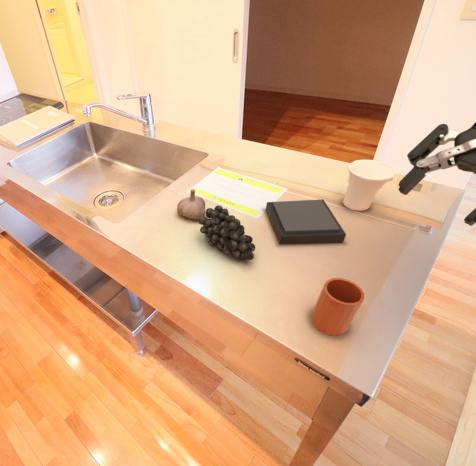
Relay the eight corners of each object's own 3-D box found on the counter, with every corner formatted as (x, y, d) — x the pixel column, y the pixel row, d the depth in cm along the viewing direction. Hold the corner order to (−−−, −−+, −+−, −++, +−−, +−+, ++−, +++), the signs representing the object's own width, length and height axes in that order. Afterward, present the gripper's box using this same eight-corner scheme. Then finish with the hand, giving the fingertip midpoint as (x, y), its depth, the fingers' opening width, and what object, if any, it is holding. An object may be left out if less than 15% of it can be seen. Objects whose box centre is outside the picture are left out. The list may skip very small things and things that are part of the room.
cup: (362, 220, 73) (379, 183, 67) (327, 201, 80) (339, 165, 74) (389, 207, 75) (408, 170, 69) (353, 189, 82) (367, 154, 76)
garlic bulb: (209, 220, 80) (211, 194, 75) (181, 225, 80) (180, 199, 75) (200, 203, 86) (201, 178, 81) (174, 208, 86) (173, 183, 81)
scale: (322, 207, 79) (325, 196, 77) (344, 242, 69) (349, 231, 67) (265, 209, 81) (267, 199, 79) (279, 244, 71) (281, 234, 69)
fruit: (266, 231, 61) (218, 194, 72) (231, 256, 61) (188, 215, 72) (270, 255, 68) (225, 217, 78) (238, 278, 67) (197, 237, 78)
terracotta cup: (339, 309, 57) (354, 277, 52) (352, 336, 53) (371, 304, 48) (306, 309, 58) (319, 278, 52) (317, 335, 54) (332, 305, 48)
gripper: (472, 74, 43) (377, 174, 48) (637, 102, 33) (493, 226, 37) (476, 104, 48) (388, 192, 52) (621, 137, 37) (495, 243, 42)
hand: (432, 206), depth 45 cm, fingers open, 8 cm apart
